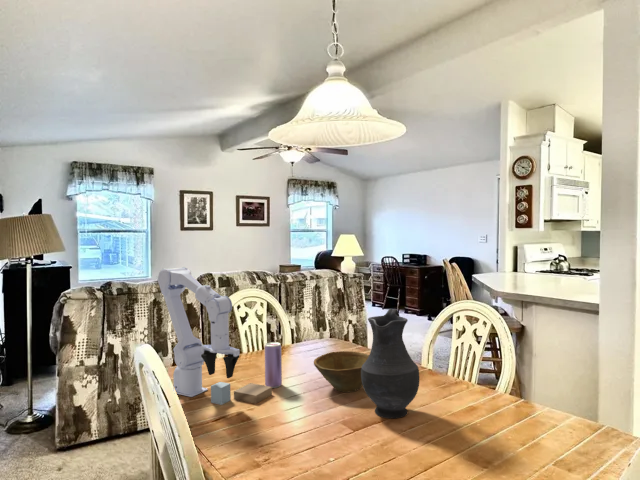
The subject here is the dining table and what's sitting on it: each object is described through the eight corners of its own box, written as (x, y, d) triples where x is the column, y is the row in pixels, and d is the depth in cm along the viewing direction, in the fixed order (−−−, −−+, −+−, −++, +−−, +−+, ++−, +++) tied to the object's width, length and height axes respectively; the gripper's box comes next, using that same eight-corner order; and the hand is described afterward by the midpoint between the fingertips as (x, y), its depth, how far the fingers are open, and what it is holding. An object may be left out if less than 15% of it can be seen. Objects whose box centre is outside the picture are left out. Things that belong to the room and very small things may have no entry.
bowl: (304, 382, 159) (304, 355, 159) (359, 374, 169) (359, 348, 168) (329, 403, 139) (328, 372, 139) (390, 392, 148) (390, 363, 148)
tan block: (233, 400, 144) (233, 391, 144) (250, 391, 152) (250, 383, 152) (255, 404, 140) (255, 395, 140) (271, 395, 148) (271, 387, 148)
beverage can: (279, 389, 153) (278, 346, 153) (262, 388, 154) (262, 345, 154) (283, 383, 159) (283, 342, 159) (268, 382, 160) (267, 341, 160)
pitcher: (355, 419, 127) (353, 316, 126) (371, 394, 146) (370, 305, 146) (415, 427, 121) (414, 319, 120) (424, 401, 140) (423, 307, 140)
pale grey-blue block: (211, 402, 141) (210, 385, 141) (220, 398, 145) (220, 381, 145) (221, 405, 139) (221, 387, 139) (230, 400, 143) (230, 383, 143)
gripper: (194, 334, 142) (195, 376, 142) (229, 338, 135) (229, 382, 135) (209, 330, 148) (210, 370, 148) (243, 334, 141) (244, 376, 141)
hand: (220, 375), depth 142 cm, fingers open, 7 cm apart
